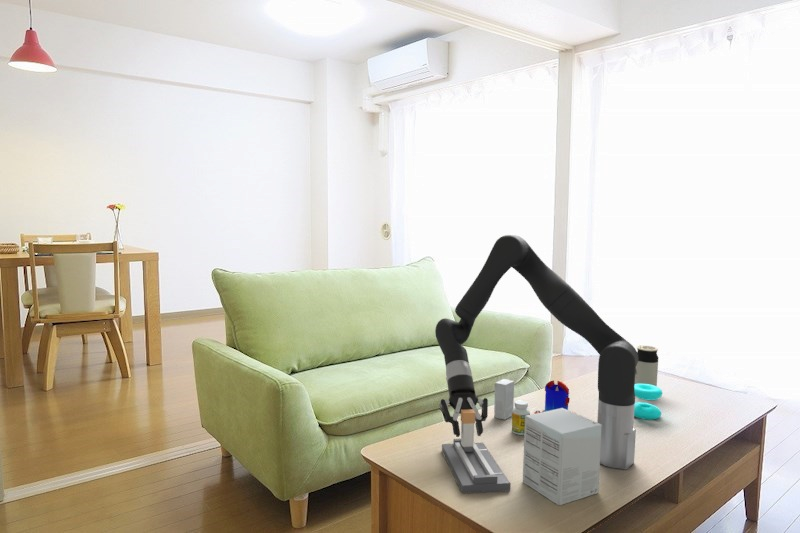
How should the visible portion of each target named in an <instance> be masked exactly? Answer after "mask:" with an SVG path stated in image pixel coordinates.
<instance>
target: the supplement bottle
mask: <svg viewBox="0 0 800 533" xmlns="http://www.w3.org/2000/svg"><path fill="white" fill-rule="evenodd" d="M528 403H529V402H528V401H526V400H519V399H518V400H515V401H514V407H513V410H512V416H511V432H512V433H513V434H515V435H519V436H524V434H525V416H526V415H531V412H530V409H529V408H528V407H529V404H528Z"/></svg>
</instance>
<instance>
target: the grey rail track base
mask: <svg viewBox="0 0 800 533" xmlns="http://www.w3.org/2000/svg"><path fill="white" fill-rule="evenodd" d="M441 451H442V454H443V457H444V458H445V460H446V462H447V464H448V467H449V469H450V471H451V473H452V475H453V477H454V479H455V481H456V483H457V485H458V487H459V490H460V492H461V494H477V493H478V494H479V493H493V492H494V493H496V492H497V493H498V492H510V491H511V481H510V480H509V479H508V477H507V475H506V474H505V473H504V470H502V469H501V467H500V465H499V464H498V463H497V461H496V459H495V458H494V456H493V455H492V454H491V452H490V451H489V449H488V448H487V446H486V445H485V442H482V441H481V442H475V441H474V446H473V452H464V450H463V449H462V444H461V438H453V443H442V444H441Z"/></svg>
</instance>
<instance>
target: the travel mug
mask: <svg viewBox="0 0 800 533" xmlns="http://www.w3.org/2000/svg"><path fill="white" fill-rule="evenodd" d="M636 351H637V354H638V363H637V366H636V368H635V384H650V385H654V386H656V387H658V371H659V370H658V368H659V355H658V351H659V348H658V347H656V346H652V345H637V346H636Z"/></svg>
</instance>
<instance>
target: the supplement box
mask: <svg viewBox="0 0 800 533" xmlns="http://www.w3.org/2000/svg"><path fill="white" fill-rule="evenodd" d="M540 412H541V413H536V414H534V413H532V414H531V413H530V415H526V416H525V434H524V435H523V436H524V439H523V440H524V441H523V462H522V464H523V465H522V483H524V485H527V487H530V488H532V489H533V490H534V491H536V492H537V493H539V494H541V495H542V496H544V497H545V498H546V499H548V500H550V501H551V502H553V503H554V504H556V505H557V506H562V505H565V504H568V503H571V502H574V501H577V500H580V499H584V498H586V497H591V496H593V495H596V494H598V493H599V490H600V489H599V485H600V464H601V463H600V447H601V426H602V425H601V424H599V423H597V422H596V421H595V420H592V419H590V418H588V417H585V416H583V415H581V414H578V413H576V412H573V411H571V410H569V409H568V410H567V409H564V408H560V409H555V410H550V411H546V412H542V411H540Z"/></svg>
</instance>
